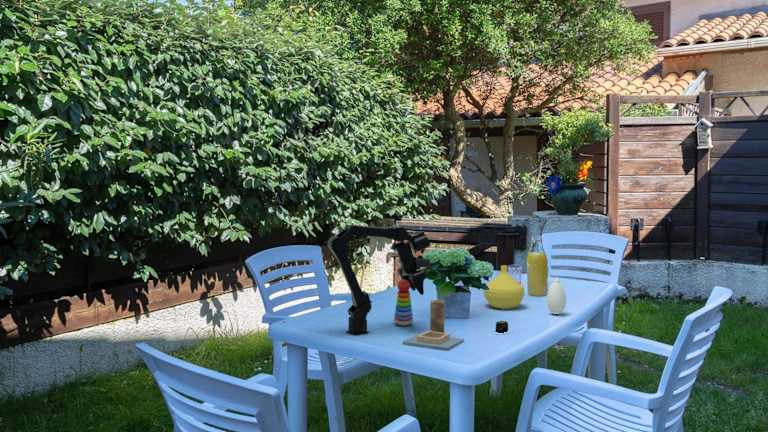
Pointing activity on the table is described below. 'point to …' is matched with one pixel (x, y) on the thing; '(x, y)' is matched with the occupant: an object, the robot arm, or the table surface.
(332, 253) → the robot arm
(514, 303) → the vase
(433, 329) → the walnut pillar
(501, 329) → the black block on base
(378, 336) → the table surface
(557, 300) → the sauce bottle
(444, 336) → the grey board with frame
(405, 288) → the stacking toy
